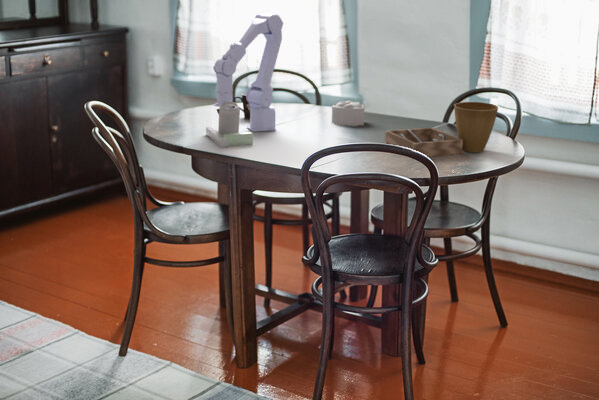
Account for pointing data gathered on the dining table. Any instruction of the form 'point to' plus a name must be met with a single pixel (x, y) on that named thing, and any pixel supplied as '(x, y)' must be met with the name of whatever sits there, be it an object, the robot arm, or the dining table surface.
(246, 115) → the coffee mug
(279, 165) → the dining table surface
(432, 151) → the rack corral
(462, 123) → the plant pot
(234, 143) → the pale green flat block
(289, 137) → the dining table surface
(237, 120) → the can
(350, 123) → the lumpy-topped squat cylinder
